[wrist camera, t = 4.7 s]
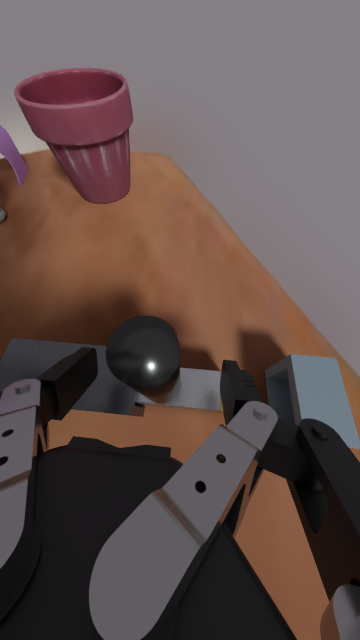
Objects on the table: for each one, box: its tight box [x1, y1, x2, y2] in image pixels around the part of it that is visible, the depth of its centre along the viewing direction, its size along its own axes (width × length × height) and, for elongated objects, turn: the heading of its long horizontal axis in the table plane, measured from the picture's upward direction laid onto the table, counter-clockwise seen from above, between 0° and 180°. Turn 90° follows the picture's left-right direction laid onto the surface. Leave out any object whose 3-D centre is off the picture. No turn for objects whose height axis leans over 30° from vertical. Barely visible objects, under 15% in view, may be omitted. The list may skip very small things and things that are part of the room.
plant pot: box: [14, 68, 133, 204], centre depth 30 cm, size 14×14×13 cm
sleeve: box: [0, 338, 145, 417], centre depth 18 cm, size 12×5×5 cm, turn 85°
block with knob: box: [106, 316, 224, 413], centre depth 14 cm, size 18×3×12 cm, turn 85°
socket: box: [265, 354, 360, 449], centre depth 16 cm, size 4×6×6 cm, turn 175°
